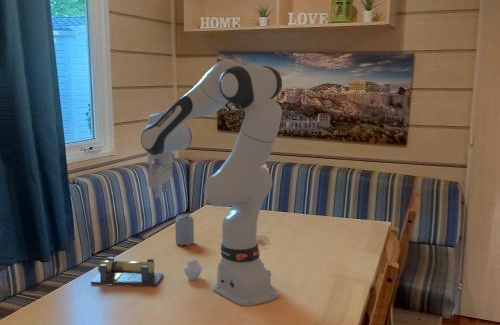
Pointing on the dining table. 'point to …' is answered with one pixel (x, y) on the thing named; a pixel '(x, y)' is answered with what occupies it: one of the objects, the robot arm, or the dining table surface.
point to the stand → (127, 277)
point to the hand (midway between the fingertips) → (161, 194)
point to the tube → (126, 266)
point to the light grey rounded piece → (192, 269)
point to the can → (184, 229)
